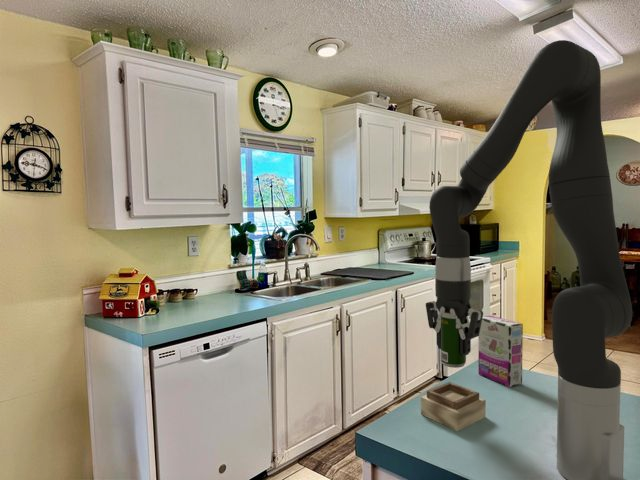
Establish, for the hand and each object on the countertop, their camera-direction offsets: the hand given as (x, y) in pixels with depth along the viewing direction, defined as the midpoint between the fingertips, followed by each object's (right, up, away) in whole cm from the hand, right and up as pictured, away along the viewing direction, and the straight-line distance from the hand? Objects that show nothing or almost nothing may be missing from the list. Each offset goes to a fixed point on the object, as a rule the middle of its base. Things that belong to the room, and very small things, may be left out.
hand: (453, 351), depth 98 cm
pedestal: (0, -15, +1) cm, 15 cm away
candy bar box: (+19, -13, +21) cm, 31 cm away
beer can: (0, -3, 0) cm, 3 cm away
